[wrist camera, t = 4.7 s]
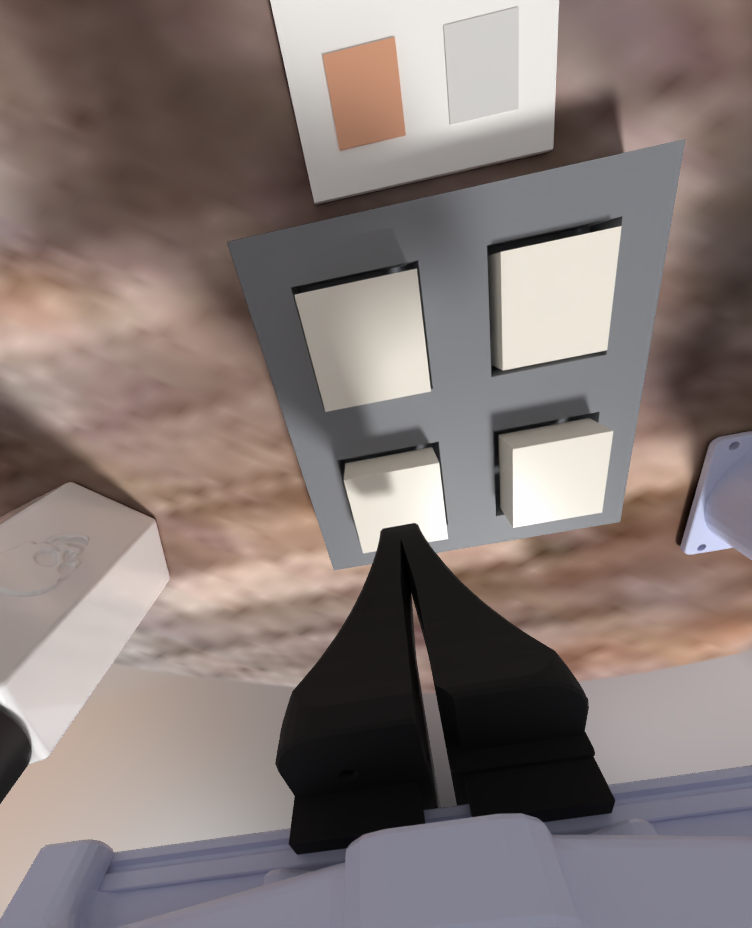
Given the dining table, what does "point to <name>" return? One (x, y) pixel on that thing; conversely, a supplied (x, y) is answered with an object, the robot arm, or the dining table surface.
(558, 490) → the button
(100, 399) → the dining table surface
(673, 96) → the dining table surface
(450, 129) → the card
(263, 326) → the button board
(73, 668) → the jar
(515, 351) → the button
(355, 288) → the button
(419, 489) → the button
